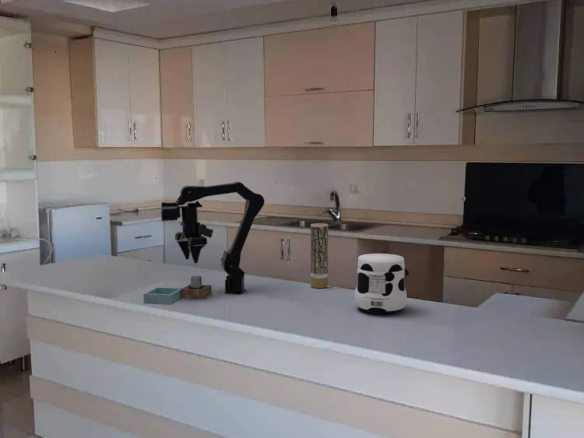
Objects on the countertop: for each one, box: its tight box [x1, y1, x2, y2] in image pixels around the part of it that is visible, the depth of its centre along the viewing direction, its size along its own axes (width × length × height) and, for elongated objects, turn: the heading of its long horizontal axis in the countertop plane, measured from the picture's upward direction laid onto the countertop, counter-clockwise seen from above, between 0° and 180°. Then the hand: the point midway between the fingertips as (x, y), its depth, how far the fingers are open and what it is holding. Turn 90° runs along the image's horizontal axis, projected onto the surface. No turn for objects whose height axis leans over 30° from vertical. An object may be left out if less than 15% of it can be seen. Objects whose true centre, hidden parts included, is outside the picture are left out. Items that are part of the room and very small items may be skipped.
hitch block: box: [181, 283, 213, 300], centre depth 210 cm, size 9×9×4 cm
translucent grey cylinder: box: [190, 275, 203, 289], centre depth 210 cm, size 4×4×8 cm
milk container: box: [354, 253, 408, 314], centre depth 190 cm, size 17×17×18 cm
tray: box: [143, 286, 182, 305], centre depth 205 cm, size 10×10×3 cm
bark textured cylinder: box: [310, 222, 329, 289], centre depth 224 cm, size 7×7×25 cm
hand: (191, 261), depth 211 cm, fingers open, 9 cm apart
